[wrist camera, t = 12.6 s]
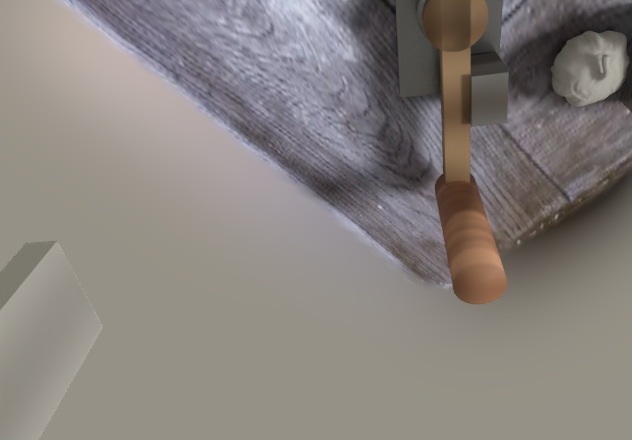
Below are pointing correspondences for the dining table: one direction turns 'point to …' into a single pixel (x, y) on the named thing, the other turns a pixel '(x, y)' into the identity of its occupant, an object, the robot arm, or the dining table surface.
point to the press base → (433, 47)
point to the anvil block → (628, 86)
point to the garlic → (590, 67)
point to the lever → (466, 143)
